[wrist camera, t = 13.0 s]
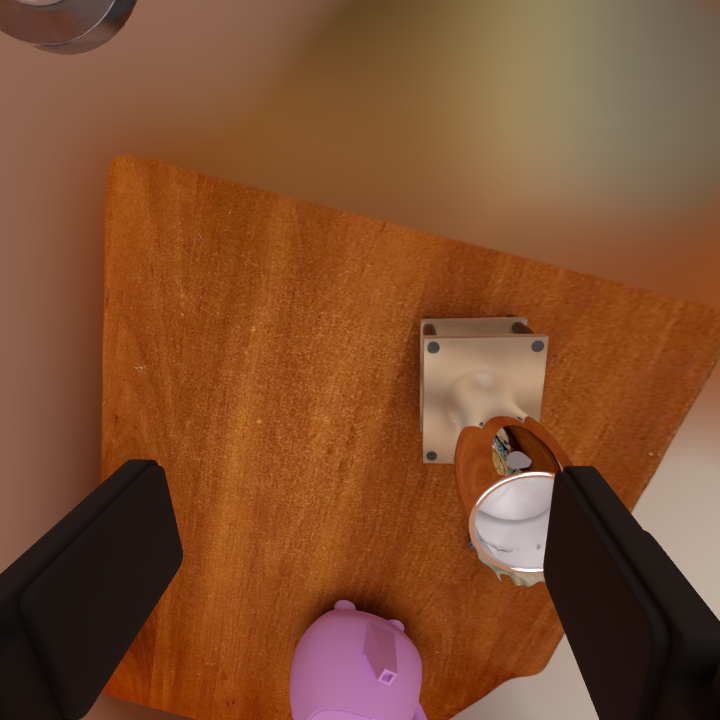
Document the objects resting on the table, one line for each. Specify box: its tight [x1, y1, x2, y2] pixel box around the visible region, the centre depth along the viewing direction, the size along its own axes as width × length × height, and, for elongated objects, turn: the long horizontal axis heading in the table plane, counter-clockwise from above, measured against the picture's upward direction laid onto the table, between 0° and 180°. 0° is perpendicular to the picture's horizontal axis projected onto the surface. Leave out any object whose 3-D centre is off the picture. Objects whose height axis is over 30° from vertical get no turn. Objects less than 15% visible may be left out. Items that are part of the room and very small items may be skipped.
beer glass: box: [445, 372, 573, 574], centre depth 29 cm, size 7×7×15 cm
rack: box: [420, 315, 549, 464], centre depth 40 cm, size 12×10×9 cm
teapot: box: [290, 600, 428, 720], centre depth 51 cm, size 20×20×15 cm
